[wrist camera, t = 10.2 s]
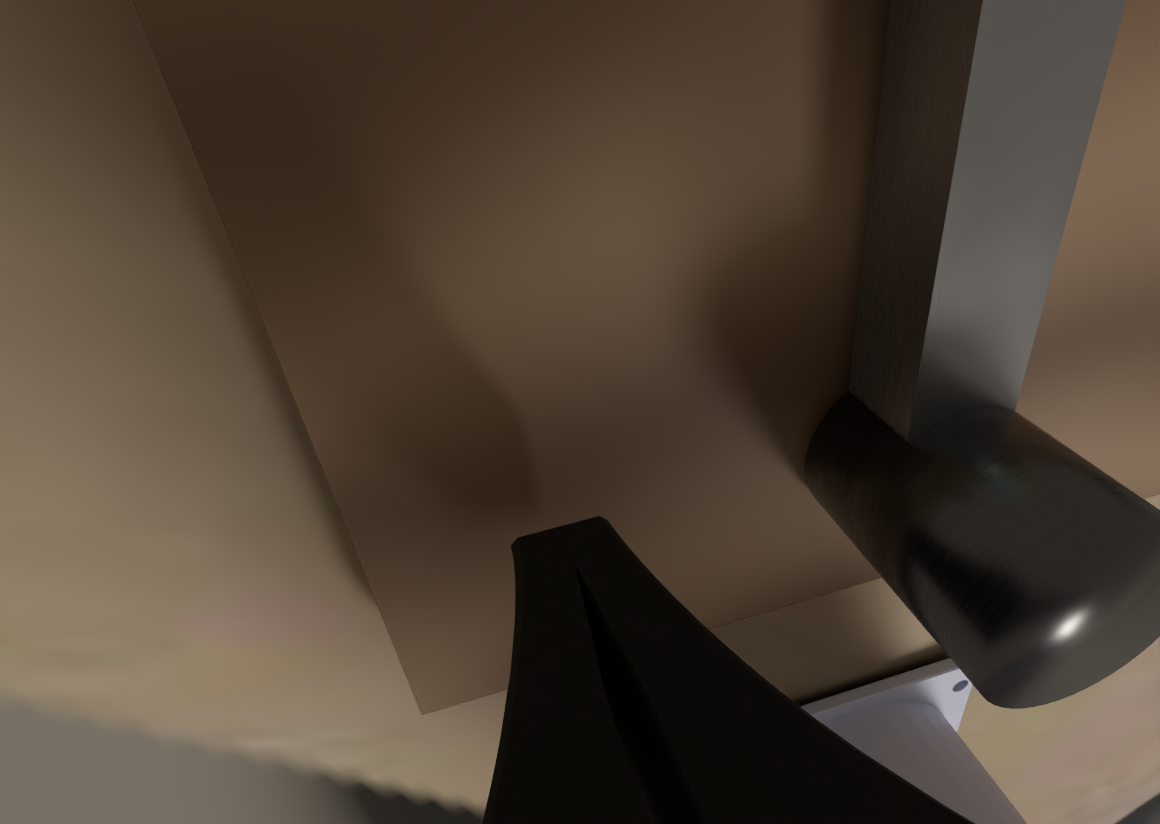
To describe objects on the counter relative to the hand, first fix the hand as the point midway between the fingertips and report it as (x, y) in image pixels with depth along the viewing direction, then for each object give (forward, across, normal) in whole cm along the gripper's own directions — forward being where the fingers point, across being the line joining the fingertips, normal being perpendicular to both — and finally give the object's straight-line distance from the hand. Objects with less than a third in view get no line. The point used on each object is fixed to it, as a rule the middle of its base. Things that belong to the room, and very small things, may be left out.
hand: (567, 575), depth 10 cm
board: (+3, -7, -7) cm, 10 cm away
